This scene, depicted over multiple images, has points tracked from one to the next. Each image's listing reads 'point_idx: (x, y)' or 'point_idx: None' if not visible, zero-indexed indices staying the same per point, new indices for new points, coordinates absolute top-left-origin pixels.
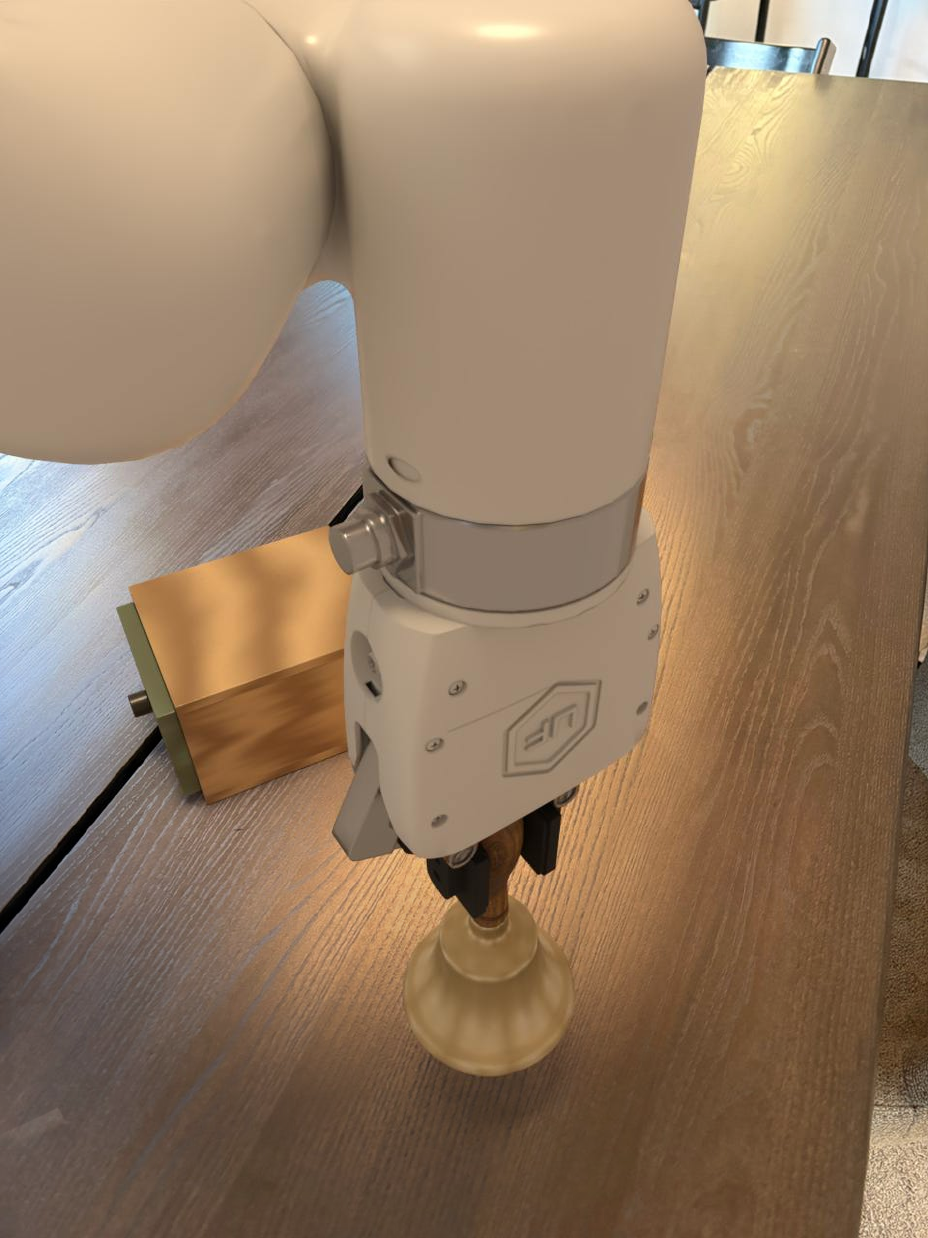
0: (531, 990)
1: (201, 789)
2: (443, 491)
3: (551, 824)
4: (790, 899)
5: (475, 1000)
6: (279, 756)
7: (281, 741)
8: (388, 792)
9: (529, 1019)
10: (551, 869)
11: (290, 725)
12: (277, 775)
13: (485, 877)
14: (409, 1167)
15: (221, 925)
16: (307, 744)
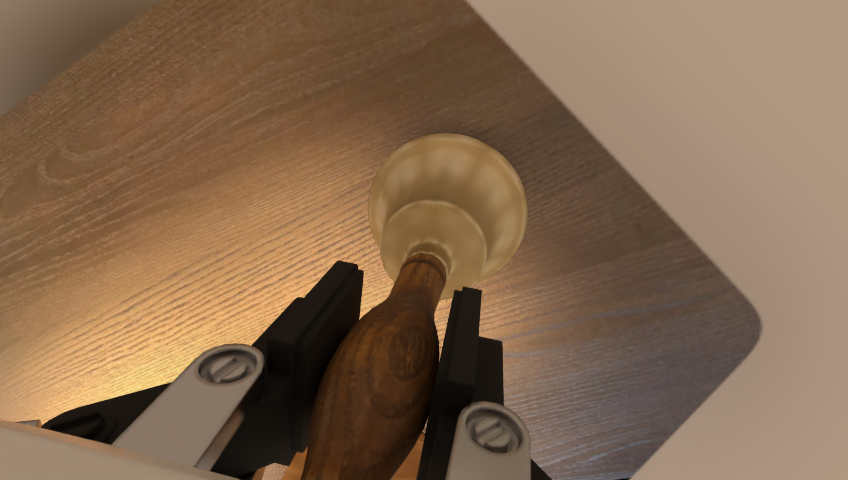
0: (432, 181)
1: None
2: None
3: (296, 335)
4: (179, 92)
5: (484, 213)
6: (416, 451)
7: (409, 464)
8: None
9: (448, 164)
10: (343, 264)
11: (397, 473)
12: (424, 436)
13: (457, 343)
14: (560, 164)
15: (531, 382)
16: None
